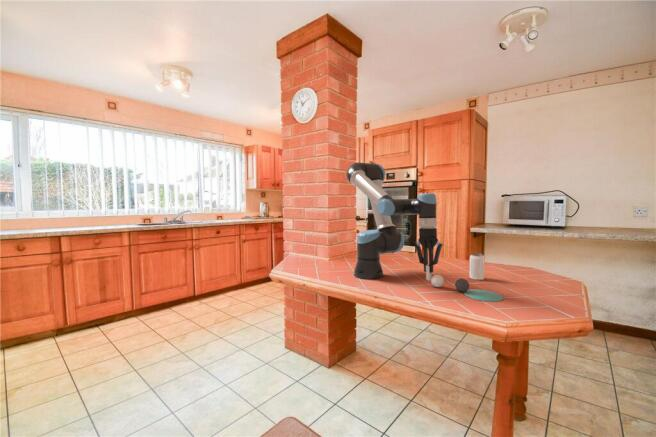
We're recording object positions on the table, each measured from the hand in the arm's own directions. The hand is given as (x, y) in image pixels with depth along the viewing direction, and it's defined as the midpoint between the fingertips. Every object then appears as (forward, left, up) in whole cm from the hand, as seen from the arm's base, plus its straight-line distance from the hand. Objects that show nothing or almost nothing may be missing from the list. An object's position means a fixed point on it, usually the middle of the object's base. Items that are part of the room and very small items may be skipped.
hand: (428, 279), depth 123 cm
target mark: (+13, +17, -3) cm, 22 cm away
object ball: (+8, +11, 0) cm, 14 cm away
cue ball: (+2, +3, 0) cm, 4 cm away
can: (-10, +28, -3) cm, 30 cm away
